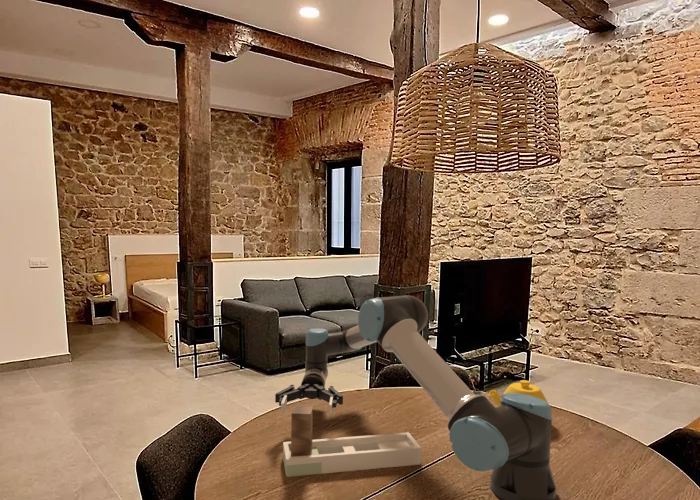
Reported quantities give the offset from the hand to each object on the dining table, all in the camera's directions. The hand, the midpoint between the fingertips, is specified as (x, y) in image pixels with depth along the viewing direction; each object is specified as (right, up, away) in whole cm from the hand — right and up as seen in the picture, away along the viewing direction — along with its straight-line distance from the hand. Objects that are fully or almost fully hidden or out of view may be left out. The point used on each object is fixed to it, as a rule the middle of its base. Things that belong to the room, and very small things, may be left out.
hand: (306, 408), depth 137 cm
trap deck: (+13, -12, -6) cm, 19 cm away
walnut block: (0, -9, -9) cm, 13 cm away
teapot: (+67, -12, +23) cm, 72 cm away
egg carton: (+57, -11, +41) cm, 72 cm away
